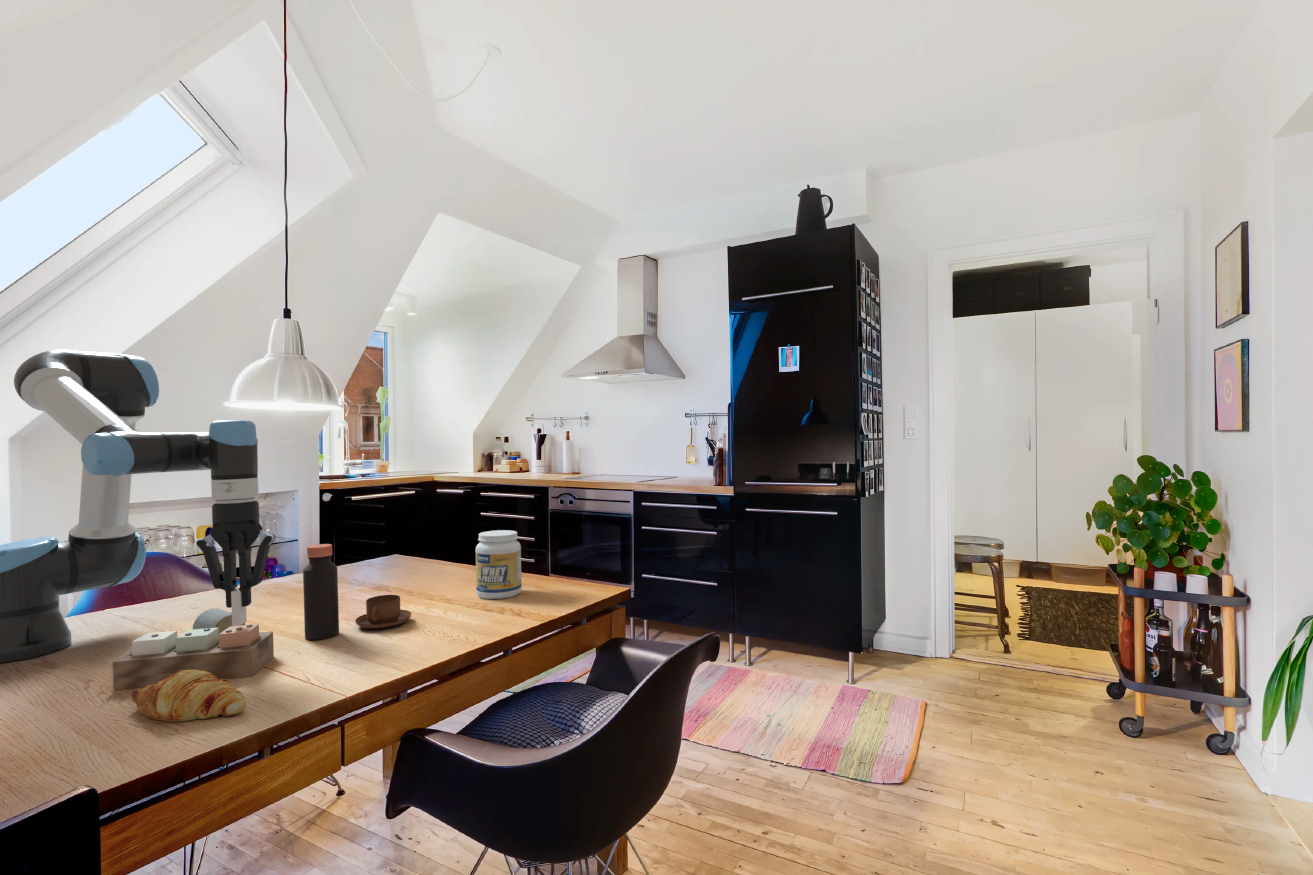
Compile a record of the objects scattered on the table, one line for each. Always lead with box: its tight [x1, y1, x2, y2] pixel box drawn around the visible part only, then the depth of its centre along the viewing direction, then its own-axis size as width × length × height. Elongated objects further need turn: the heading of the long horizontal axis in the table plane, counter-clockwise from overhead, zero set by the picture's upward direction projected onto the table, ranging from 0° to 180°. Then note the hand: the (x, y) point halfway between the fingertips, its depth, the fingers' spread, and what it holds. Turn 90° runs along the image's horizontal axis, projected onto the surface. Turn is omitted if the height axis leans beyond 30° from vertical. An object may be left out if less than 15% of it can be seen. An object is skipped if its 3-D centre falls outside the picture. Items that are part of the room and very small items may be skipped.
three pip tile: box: [219, 623, 260, 648], centre depth 122 cm, size 5×5×4 cm
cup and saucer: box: [354, 594, 412, 630], centre depth 148 cm, size 12×12×6 cm
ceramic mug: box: [192, 607, 246, 634], centre depth 138 cm, size 10×8×7 cm
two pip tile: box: [176, 628, 219, 652], centre depth 120 cm, size 5×5×4 cm
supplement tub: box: [474, 529, 522, 600], centre depth 174 cm, size 12×12×17 cm
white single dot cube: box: [131, 630, 178, 656], centre depth 118 cm, size 5×5×4 cm
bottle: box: [302, 543, 340, 641], centre depth 140 cm, size 7×7×20 cm
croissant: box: [131, 669, 247, 723], centre depth 103 cm, size 21×10×8 cm, turn 80°
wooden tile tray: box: [112, 631, 275, 691], centre depth 120 cm, size 22×11×5 cm, turn 103°
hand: (239, 623), depth 122 cm, fingers closed
